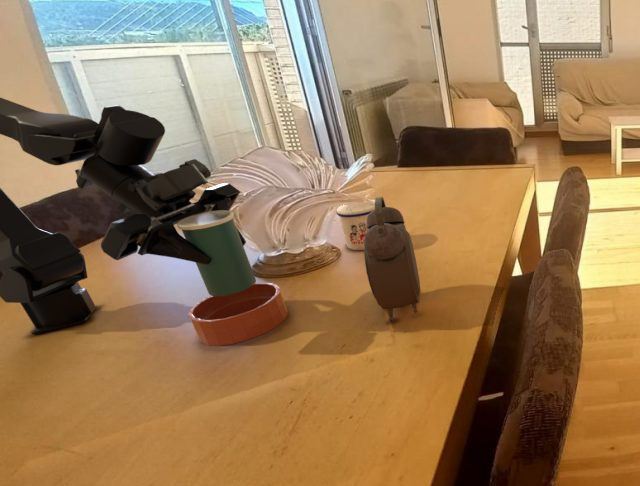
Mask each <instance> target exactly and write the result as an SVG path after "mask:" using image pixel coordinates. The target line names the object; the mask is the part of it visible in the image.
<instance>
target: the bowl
mask: <svg viewBox="0 0 640 486" xmlns="http://www.w3.org/2000/svg"><path fill="white" fill-rule="evenodd" d="M288 310H289V309H288V307H287V305H286V302H285V299H284V296H283V293H282V290H281V287H279V286H278V285H277V284H275V283H271V282H255V284H254V285H252V286H251V287H249V288H247V289H245V290H243V291H240V292H238V293H234V294H230V295H225V296H212V295H209V296H207V297H205V298H204V299H202V300H200V301H198V302H197V303H195V304H194V306H193V307H192V308H190V310H189V312H188V315H187V316H188V318H189V320H190V321H189V322H190V324H191V325H192V327H193V329H194V332H195V334H196V336H197V338H198V340H199V342H200V343H201V344H203V345H207V346H209V347H222V346H229V345H234V344H239V343H242V342H245V341H249V340H253V339H254V338H258V337H259V336H262V335H264V334H267V333H268V332H270V331H271V330H273V329H275V328H276V327H277V326H279V325H280V324H281V323H282V322H284V321H285V320H286V318H287V317H288Z"/></svg>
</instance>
